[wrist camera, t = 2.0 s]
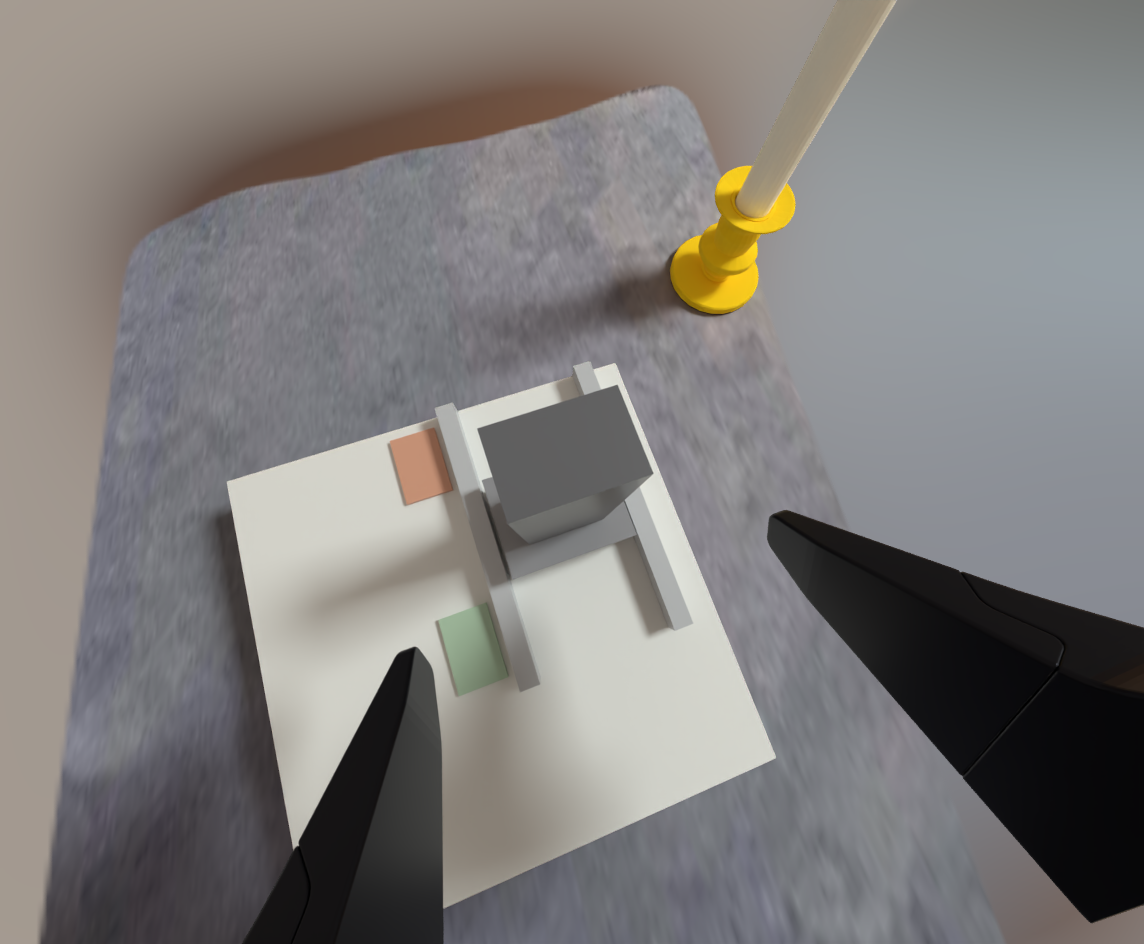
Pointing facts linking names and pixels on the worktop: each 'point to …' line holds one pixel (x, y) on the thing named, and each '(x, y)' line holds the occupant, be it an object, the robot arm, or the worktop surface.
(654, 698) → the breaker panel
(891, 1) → the candle
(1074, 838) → the robot arm
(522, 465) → the handle
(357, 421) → the worktop surface
